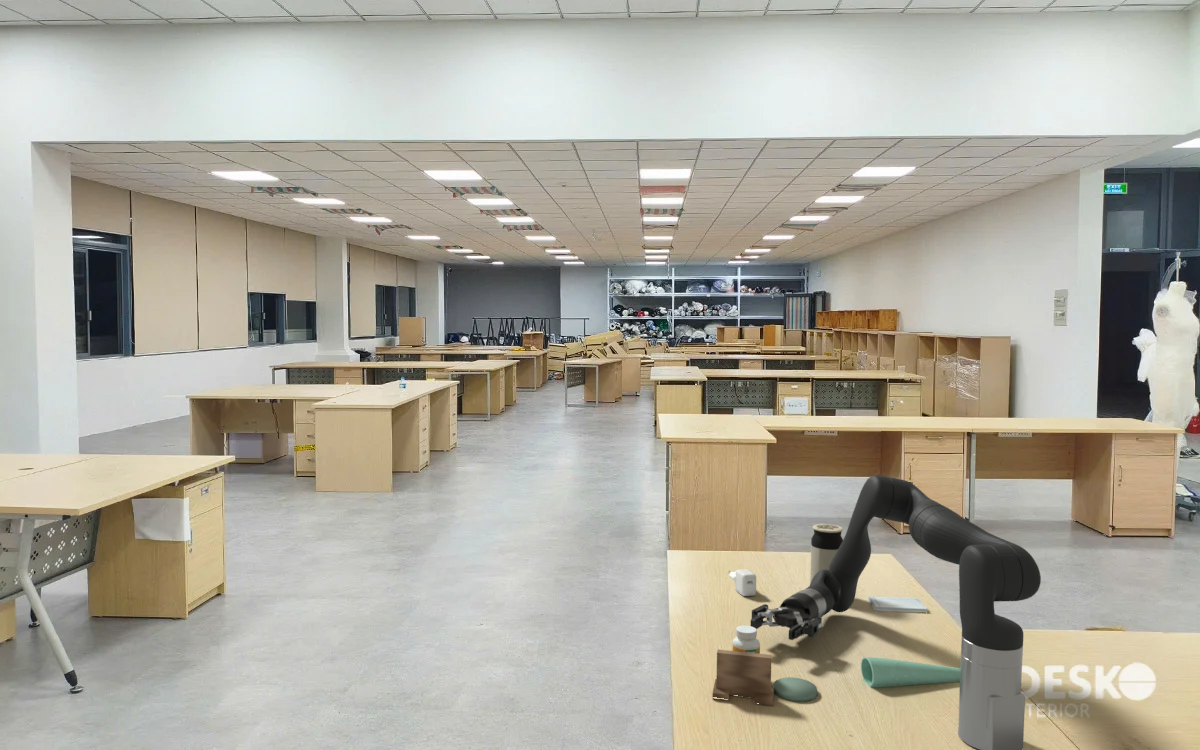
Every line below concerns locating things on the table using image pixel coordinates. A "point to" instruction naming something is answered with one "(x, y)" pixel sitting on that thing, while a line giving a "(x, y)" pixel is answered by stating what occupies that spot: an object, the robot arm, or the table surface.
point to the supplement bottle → (746, 640)
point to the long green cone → (904, 672)
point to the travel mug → (824, 546)
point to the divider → (744, 676)
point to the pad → (795, 689)
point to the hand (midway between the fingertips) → (771, 630)
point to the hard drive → (897, 604)
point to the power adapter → (744, 581)
